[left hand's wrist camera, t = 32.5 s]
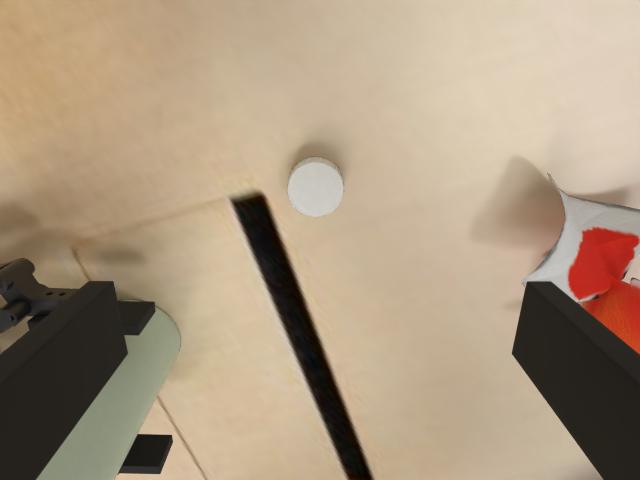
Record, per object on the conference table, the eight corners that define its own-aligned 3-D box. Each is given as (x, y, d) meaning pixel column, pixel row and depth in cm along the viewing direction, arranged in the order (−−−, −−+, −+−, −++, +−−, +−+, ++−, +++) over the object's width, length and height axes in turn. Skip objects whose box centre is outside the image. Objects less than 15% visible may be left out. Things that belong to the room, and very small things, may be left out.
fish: (504, 401, 29) (644, 454, 20) (454, 198, 30) (565, 157, 21) (610, 361, 32) (776, 391, 23) (561, 178, 33) (701, 133, 24)
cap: (310, 219, 29) (310, 228, 27) (277, 177, 28) (274, 184, 26) (353, 188, 28) (356, 196, 26) (321, 144, 27) (321, 149, 25)
